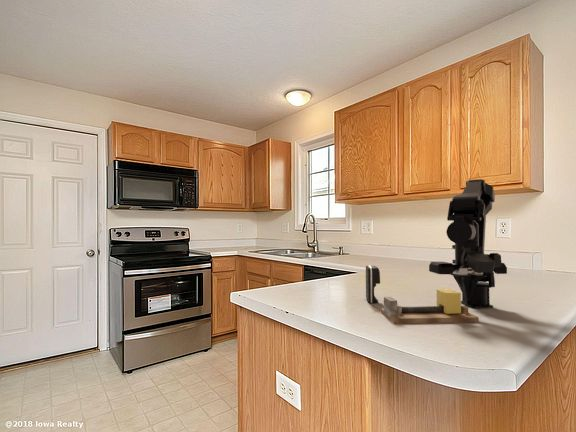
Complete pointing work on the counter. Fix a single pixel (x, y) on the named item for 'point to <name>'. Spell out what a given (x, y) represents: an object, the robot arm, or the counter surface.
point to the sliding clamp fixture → (423, 313)
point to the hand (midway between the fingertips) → (467, 299)
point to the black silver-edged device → (371, 282)
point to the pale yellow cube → (449, 300)
